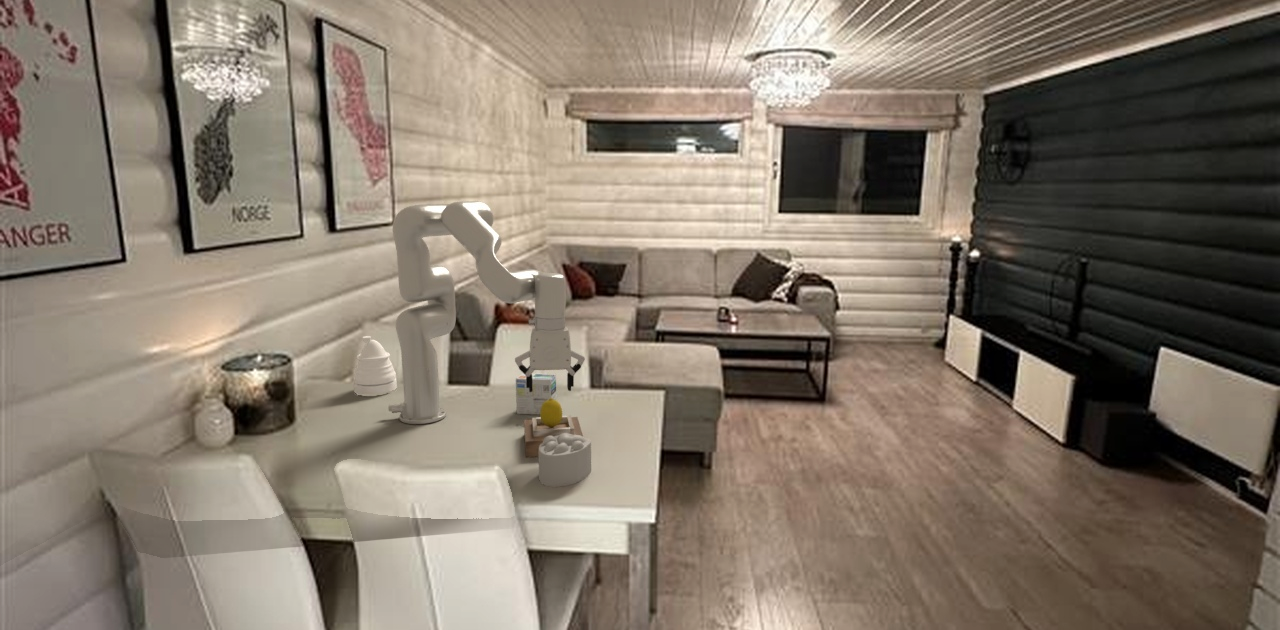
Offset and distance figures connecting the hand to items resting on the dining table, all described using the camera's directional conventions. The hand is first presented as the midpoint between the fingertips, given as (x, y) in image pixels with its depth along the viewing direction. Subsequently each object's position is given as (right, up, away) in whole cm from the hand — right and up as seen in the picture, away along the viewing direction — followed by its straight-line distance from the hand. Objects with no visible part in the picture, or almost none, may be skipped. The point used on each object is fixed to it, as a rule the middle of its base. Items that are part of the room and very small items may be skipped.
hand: (550, 389), depth 174 cm
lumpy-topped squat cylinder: (+5, -18, -17) cm, 25 cm away
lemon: (0, -10, +2) cm, 10 cm away
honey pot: (-62, -6, +48) cm, 79 cm away
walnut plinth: (0, -14, +2) cm, 14 cm away
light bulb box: (-7, -9, +28) cm, 30 cm away
